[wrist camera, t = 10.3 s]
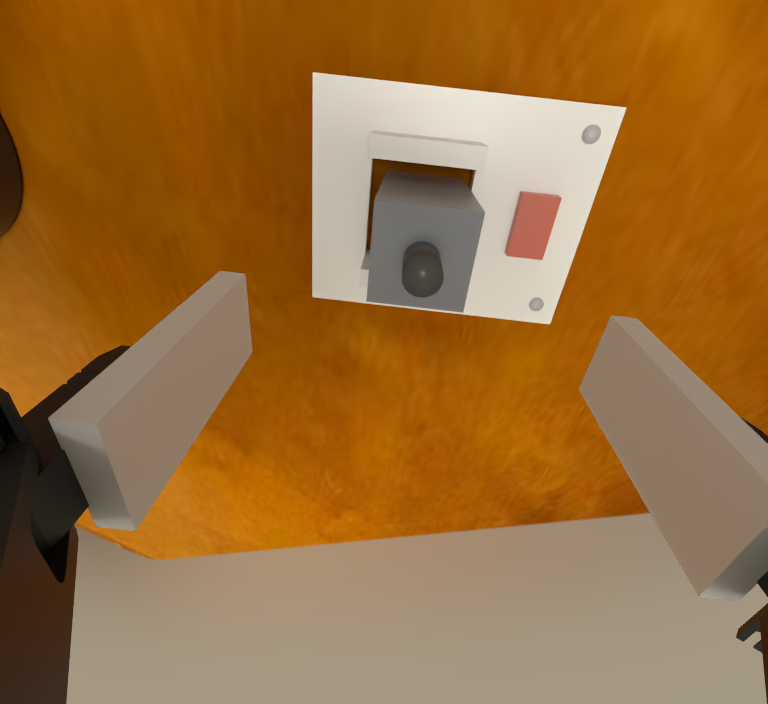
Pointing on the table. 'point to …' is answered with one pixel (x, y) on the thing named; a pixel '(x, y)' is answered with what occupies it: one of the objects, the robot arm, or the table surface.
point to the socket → (488, 182)
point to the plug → (423, 241)
